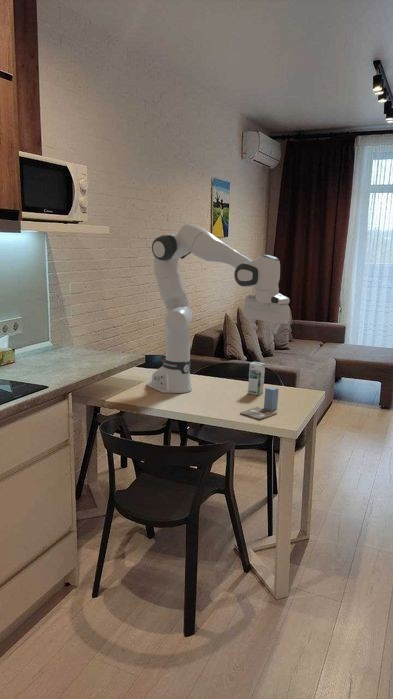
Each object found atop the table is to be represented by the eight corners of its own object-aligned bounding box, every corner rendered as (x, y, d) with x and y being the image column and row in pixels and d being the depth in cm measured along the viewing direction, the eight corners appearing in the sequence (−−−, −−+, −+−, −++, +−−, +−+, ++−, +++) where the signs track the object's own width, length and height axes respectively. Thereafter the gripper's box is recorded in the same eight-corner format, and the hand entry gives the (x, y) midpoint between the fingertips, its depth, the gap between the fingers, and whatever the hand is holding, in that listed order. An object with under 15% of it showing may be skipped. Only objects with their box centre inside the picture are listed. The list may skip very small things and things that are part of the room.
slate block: (263, 408, 225) (265, 388, 223) (269, 406, 228) (270, 386, 226) (271, 410, 222) (273, 390, 221) (277, 408, 225) (278, 388, 224)
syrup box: (247, 393, 246) (249, 363, 243) (252, 390, 251) (254, 360, 248) (258, 395, 243) (261, 365, 240) (263, 392, 248) (265, 362, 246)
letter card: (239, 414, 216) (240, 412, 216) (257, 408, 225) (257, 406, 225) (260, 420, 210) (260, 418, 209) (277, 414, 218) (277, 412, 218)
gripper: (240, 294, 212) (238, 328, 215) (284, 300, 199) (281, 336, 202) (250, 294, 217) (248, 327, 219) (293, 299, 203) (290, 334, 206)
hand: (264, 331), depth 210 cm, fingers open, 8 cm apart
